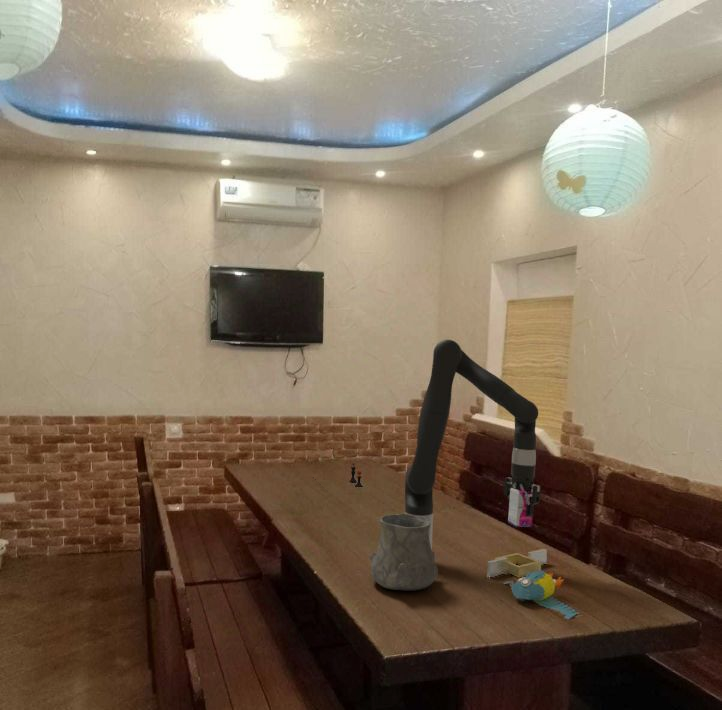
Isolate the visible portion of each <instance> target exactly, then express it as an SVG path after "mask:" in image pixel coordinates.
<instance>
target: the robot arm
mask: <svg viewBox="0 0 722 710" xmlns="http://www.w3.org/2000/svg"><path fill="white" fill-rule="evenodd" d="M433 349H434V350H433V354H432V355H433V357H432V366H431V373H430V379H429V384H428V385H427V389H426V391H425V395H424V397H423V401H422V405H421V408H420V413H419V417H418V418H419V419H418V425H417V433H416V435H417V436H416V437H417V438H416V450H415V454H414V457H413V461H412V464H410V465H409V467H407V469H406V471H405V481H404V482H405V483H404V488H405V492H404V505H405V506H404V508H405V509H404V514H412V515H416V516H421V517H424V518H426V519H427V520H429V521H430V528H429V541H430V546H431V550H432V551H433V549H432V547H433V526H434V525H433V520H434V499H433V492H434V491H433V487H434V486H435V484H436V483H435V482H436V476H437V475H436V473H437V465H438V458H439V453H440V450H441V446H442V443H443V440H444V437H445V431H446V428H447V424H448V420H449V416H450V410H451V404H452V402H451V401H452V393H453V392H452V389H453V385H454V384H453V383H454V379H455V375H456V374H458V375H460V376H461V377H463V378H464V379H466V380H467V381H468V382H470V384H472V385H473V386H474V387H475V388H477V390H479V391H480V392H481V393H483V395H485V396H486V397H488V399H490V400H492V401H493V402H494V403H496V404H498V405H499V407H502V408H504V409H505V410H506V411H507V412H508V413H510V414H511V416H513V417H514V435H513V447H512V453H511V468H510V469H511V471H510V476H509V477H504V483H503V484H504V488H503V489H504V491H503V492H504V496H507V498H508V503H509V502H510V489H511V488H513V489H517V490H520V491H522V492H524V498H525V499H526V501H527V504H528V505H527V507H526V516H528V517H529V516H532V515H534V507H535V505H539V504H540V501H541V492H542V485H537V484H535V483H534V479H535V477H536V463H537V462H536V461H537V453H536V447H537V445H536V443H537V433H536V425H537V424H536V422H537V419H538V417H539V410H538V407H537V406H536V404H535V403H534V402H532V401H531V400H529V399H527V398H525V396H523V395H521V394H520V393H518V392H517V391H516V389H514V388H513V387H511V386H510V385H509V384H508V383H507V382H505V381H503V380H502V379H501V378H500V377H498V376H496V375H495V374H493V373H492V372H490V371H488V370H487V369H485V368H484V367H482V366H481V365H480V364H478V363H477V362H476V361H474V360H473V359H472V358H471V357H469V356H468V355H467V353H465V351H464V350H462V348H461V346H460V345H459V344H458V342H456V341H454V340H452V339H443V340H441V341H439V342H438V343H436V345H435V346H434V348H433ZM511 476H512V477H511ZM526 492H533V493H532V494H529V495H528V494H527V493H526ZM529 497H531V501H530V498H529ZM532 517H533V516H532Z"/></svg>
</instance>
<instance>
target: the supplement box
mask: <svg viewBox="0 0 722 710" xmlns="http://www.w3.org/2000/svg"><path fill="white" fill-rule="evenodd" d="M526 493H527V494H528V495H529V494H532V493H533V492H526ZM529 498H530V501H531V497H529ZM527 505H528V504H527V501H526V499H525V498H524V492H522V491H520V490H517V489H513V488H511V489H510V502H509V501H508V518H507V523H509V524H510V525H512V526H514V528H523V527H524V528H527V527H529V528H531V527H533V515H534V514H533V515H532V516H529V517H528V516H526V507H527Z"/></svg>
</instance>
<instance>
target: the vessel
mask: <svg viewBox="0 0 722 710" xmlns="http://www.w3.org/2000/svg"><path fill="white" fill-rule="evenodd" d="M379 521H380V522H379V523H380V530H381V531H380V537H379V542H378V546H377V551H376V553H375V552H372V553H371V555H370V561H371V565H370V573H371V576H372V579H373V580H374V581H375V583H377V584H378V585H380V586H381V587H383V589H389V590H395V591H396V590H397V591H420V590H423V589H425V588H428V587H429V586H431V585H432V584H433V583H434V582H435V581H436V580H437V578H438V574H439V570H438V566H437V563H436V560H435V559H436V557H435V552H434V551H433V549H432V550H431V546H430V541H429V528H430V521H429V520H427V519H426V518H424V517H421V516H416V515H412V514H405V513H397V514H395V513H393V514H386V515H383V516H381V518H380V519H379Z"/></svg>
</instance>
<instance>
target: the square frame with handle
mask: <svg viewBox="0 0 722 710" xmlns="http://www.w3.org/2000/svg"><path fill="white" fill-rule="evenodd" d="M547 555H548V550H547V549H546V548H541V549H537V550H532V551H528V552H527V556H526V555H523V554H521V553H519V552H515V553H511V554H507V555H502V556H498V557H497V556H496V557H494V559H491V560H489V561H487V564H486V569H487V570H486V578H488V577H489V578H488V579H491V578H490V577H493V578H495V577H494V576H497V577H499V576H498V575H501V574H505V573H510V574H512V575H514V576H517V577H522V576H526V575H527V574H528V572H529V573H533V572H535V571H540V570H542V566H544V565H543V564H546V565H547V560H548V559H547ZM516 564H519V565H520V566H519V565H516ZM541 565H542V566H541ZM505 575H506V574H505ZM501 576H502V575H501ZM514 576H513V577H514Z"/></svg>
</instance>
